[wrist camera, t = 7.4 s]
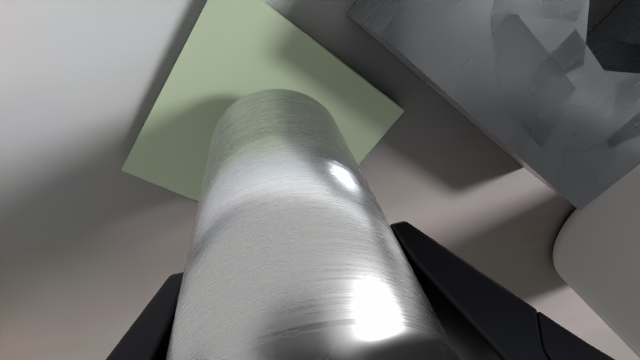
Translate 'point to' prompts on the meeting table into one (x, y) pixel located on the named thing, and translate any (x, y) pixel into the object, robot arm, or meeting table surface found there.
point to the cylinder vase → (606, 256)
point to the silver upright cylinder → (295, 249)
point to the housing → (529, 79)
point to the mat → (247, 91)
